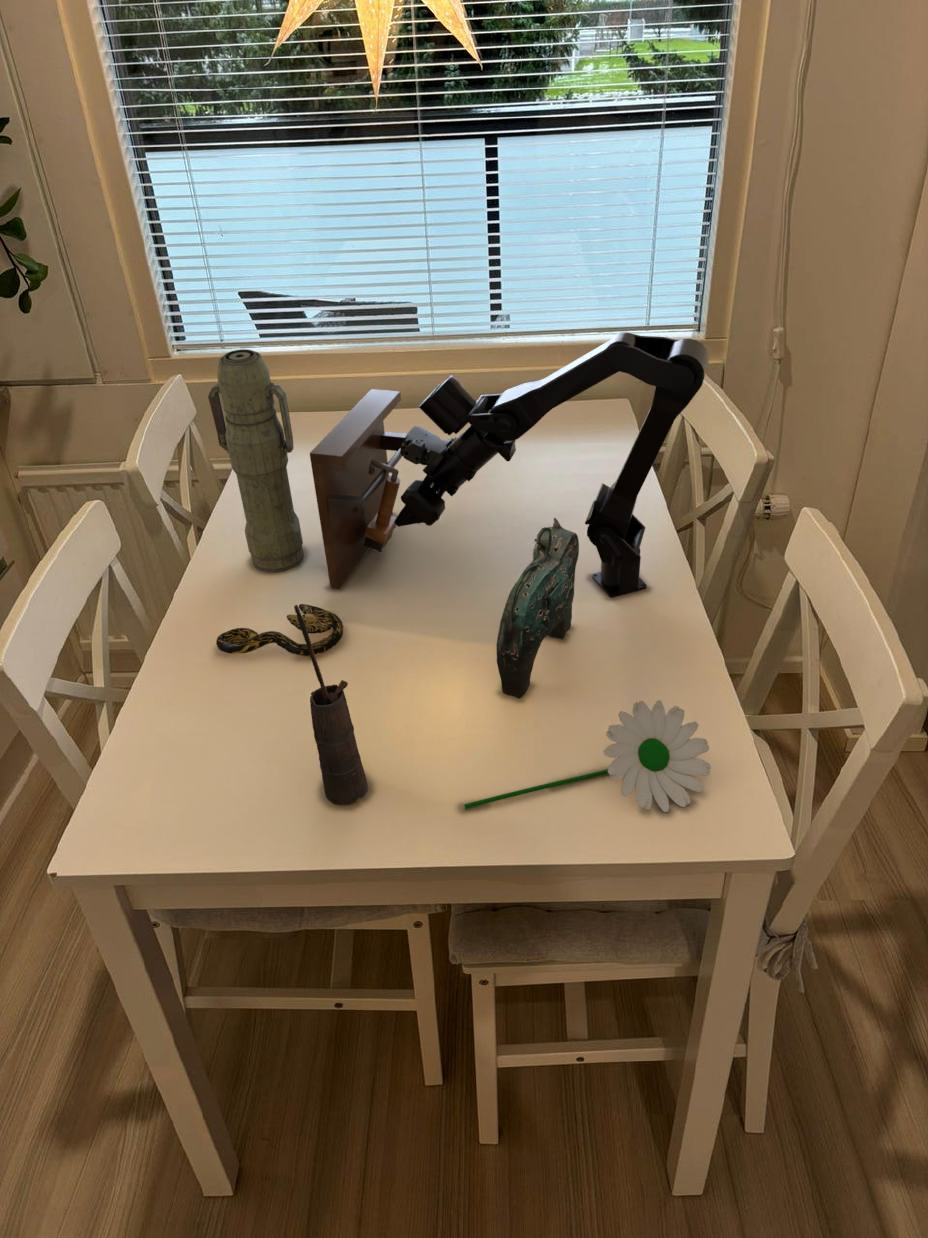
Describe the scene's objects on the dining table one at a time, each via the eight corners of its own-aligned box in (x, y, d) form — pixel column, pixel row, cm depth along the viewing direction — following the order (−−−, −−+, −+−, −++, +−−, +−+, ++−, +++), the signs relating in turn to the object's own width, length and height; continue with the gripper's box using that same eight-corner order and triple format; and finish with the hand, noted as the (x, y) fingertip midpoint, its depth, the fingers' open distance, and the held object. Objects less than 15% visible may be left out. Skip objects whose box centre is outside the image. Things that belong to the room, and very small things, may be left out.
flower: (450, 750, 108) (693, 684, 110) (451, 760, 113) (683, 697, 116) (480, 863, 104) (733, 792, 106) (480, 867, 109) (721, 799, 111)
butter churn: (370, 746, 118) (344, 561, 101) (403, 794, 111) (381, 603, 95) (302, 774, 115) (264, 587, 98) (332, 825, 108) (296, 633, 91)
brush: (393, 536, 156) (412, 465, 147) (381, 553, 152) (400, 481, 143) (360, 522, 157) (378, 451, 147) (348, 539, 152) (364, 467, 143)
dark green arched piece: (547, 615, 139) (548, 497, 127) (587, 625, 137) (593, 506, 125) (488, 694, 125) (484, 570, 113) (532, 707, 123) (532, 582, 111)
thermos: (250, 544, 159) (208, 344, 139) (317, 544, 158) (285, 343, 138) (236, 572, 152) (189, 367, 131) (306, 573, 151) (271, 365, 130)
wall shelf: (421, 518, 164) (410, 391, 150) (370, 594, 146) (353, 457, 132) (384, 514, 166) (371, 388, 152) (330, 588, 147) (309, 453, 133)
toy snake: (206, 629, 131) (231, 594, 140) (210, 656, 134) (235, 620, 142) (329, 640, 129) (347, 604, 137) (331, 668, 131) (349, 630, 140)
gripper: (449, 390, 145) (390, 448, 154) (408, 442, 131) (346, 502, 140) (499, 441, 147) (438, 495, 157) (464, 497, 133) (399, 553, 143)
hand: (406, 509), depth 149 cm, fingers open, 9 cm apart
